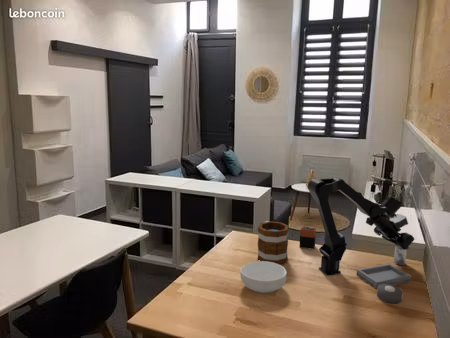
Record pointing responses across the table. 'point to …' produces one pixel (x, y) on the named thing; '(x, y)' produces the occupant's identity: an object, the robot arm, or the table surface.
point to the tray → (383, 275)
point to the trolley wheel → (389, 293)
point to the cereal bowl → (263, 276)
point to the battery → (307, 237)
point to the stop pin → (399, 255)
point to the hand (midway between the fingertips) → (403, 246)
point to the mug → (273, 242)
